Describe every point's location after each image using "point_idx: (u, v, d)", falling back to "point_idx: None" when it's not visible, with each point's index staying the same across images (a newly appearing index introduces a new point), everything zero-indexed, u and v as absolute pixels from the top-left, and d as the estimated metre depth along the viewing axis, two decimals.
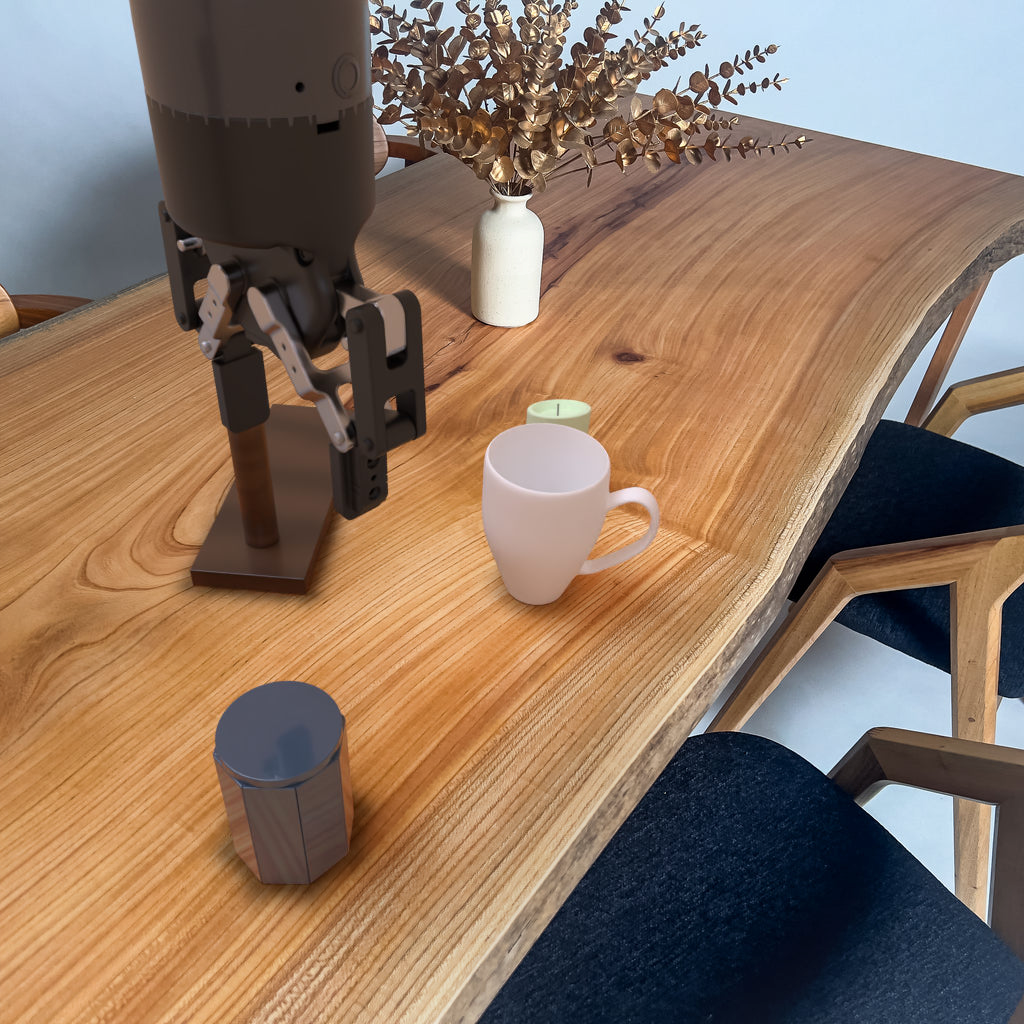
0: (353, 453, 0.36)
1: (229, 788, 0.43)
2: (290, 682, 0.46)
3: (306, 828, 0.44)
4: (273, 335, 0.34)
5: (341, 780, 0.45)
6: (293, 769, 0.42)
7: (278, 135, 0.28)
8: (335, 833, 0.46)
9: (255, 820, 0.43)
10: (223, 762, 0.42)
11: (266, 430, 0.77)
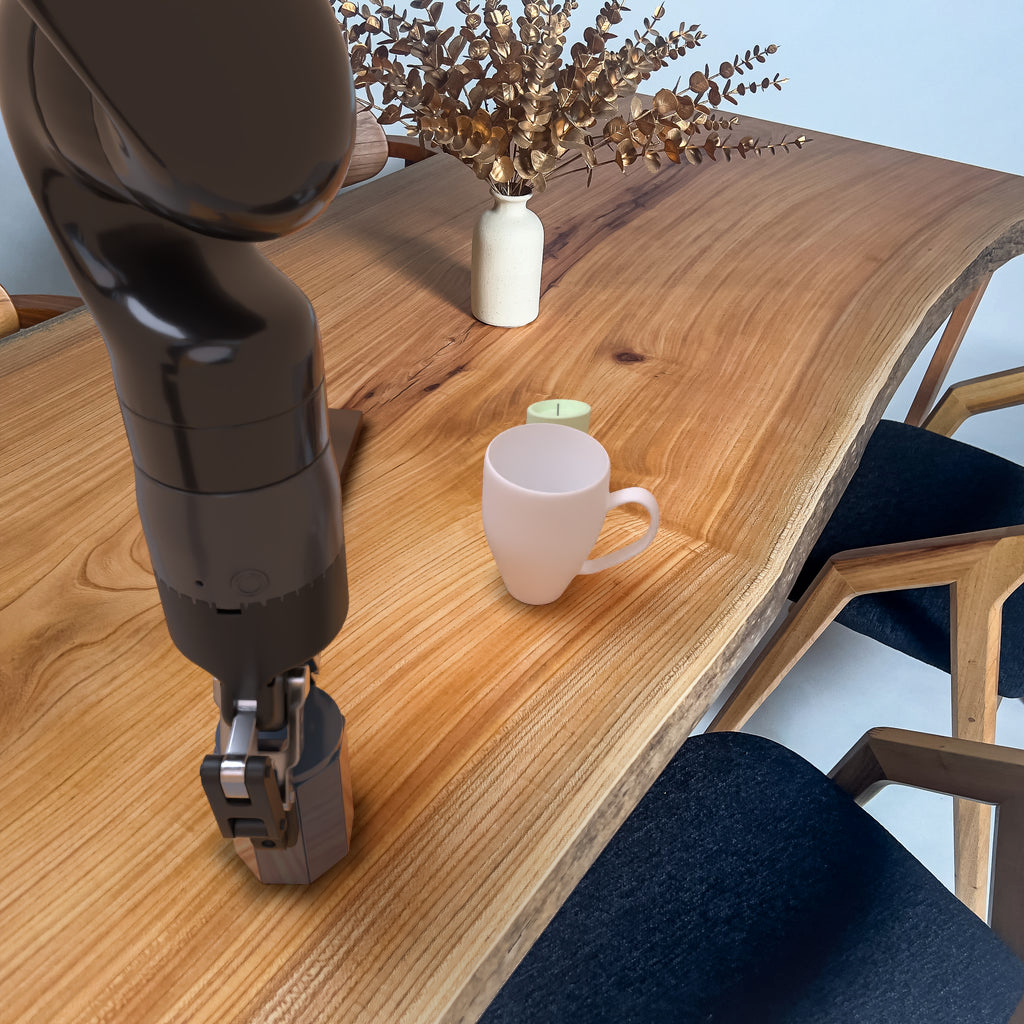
0: None
1: None
2: None
3: (306, 828, 0.44)
4: None
5: (341, 780, 0.45)
6: (293, 770, 0.42)
7: (186, 604, 0.34)
8: (335, 833, 0.46)
9: None
10: None
11: None
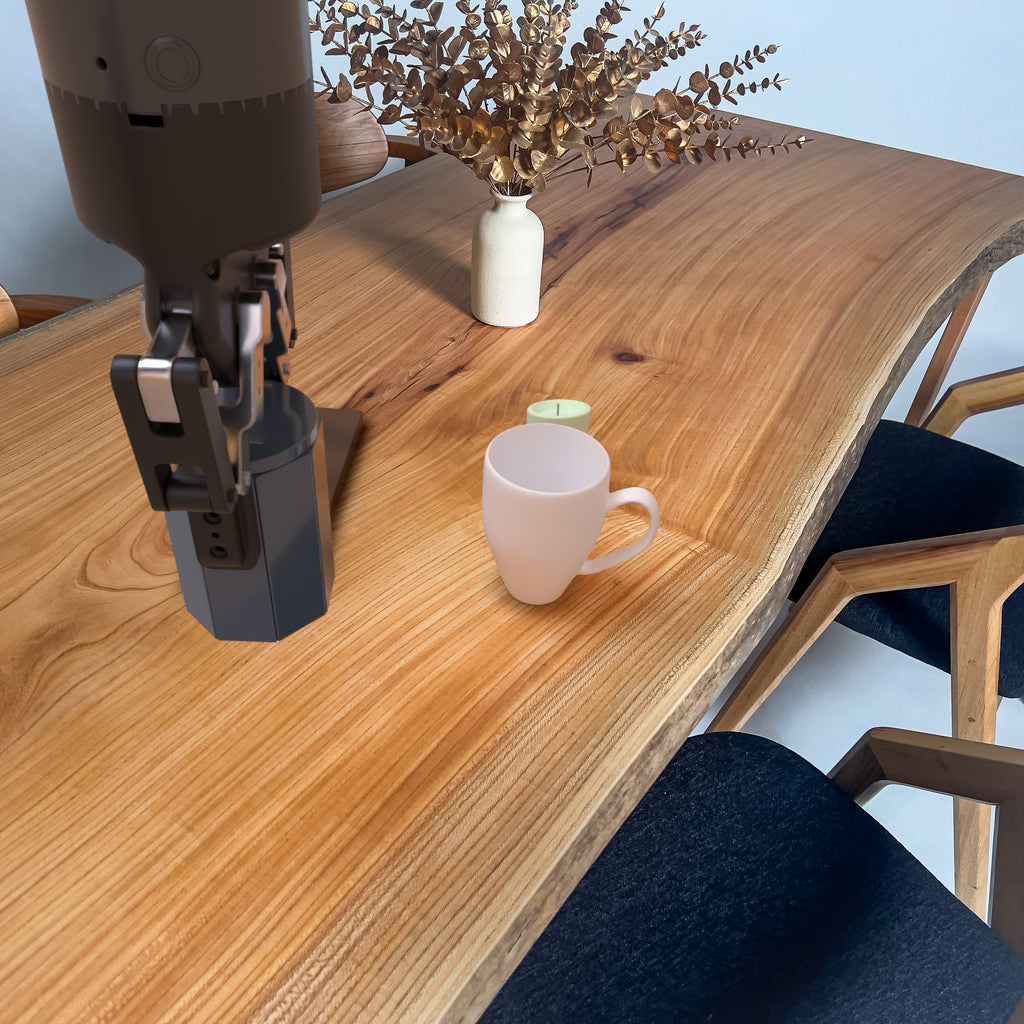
0: None
1: None
2: None
3: (270, 551, 0.34)
4: None
5: (316, 493, 0.35)
6: (251, 455, 0.32)
7: (87, 115, 0.24)
8: (309, 574, 0.37)
9: None
10: None
11: None
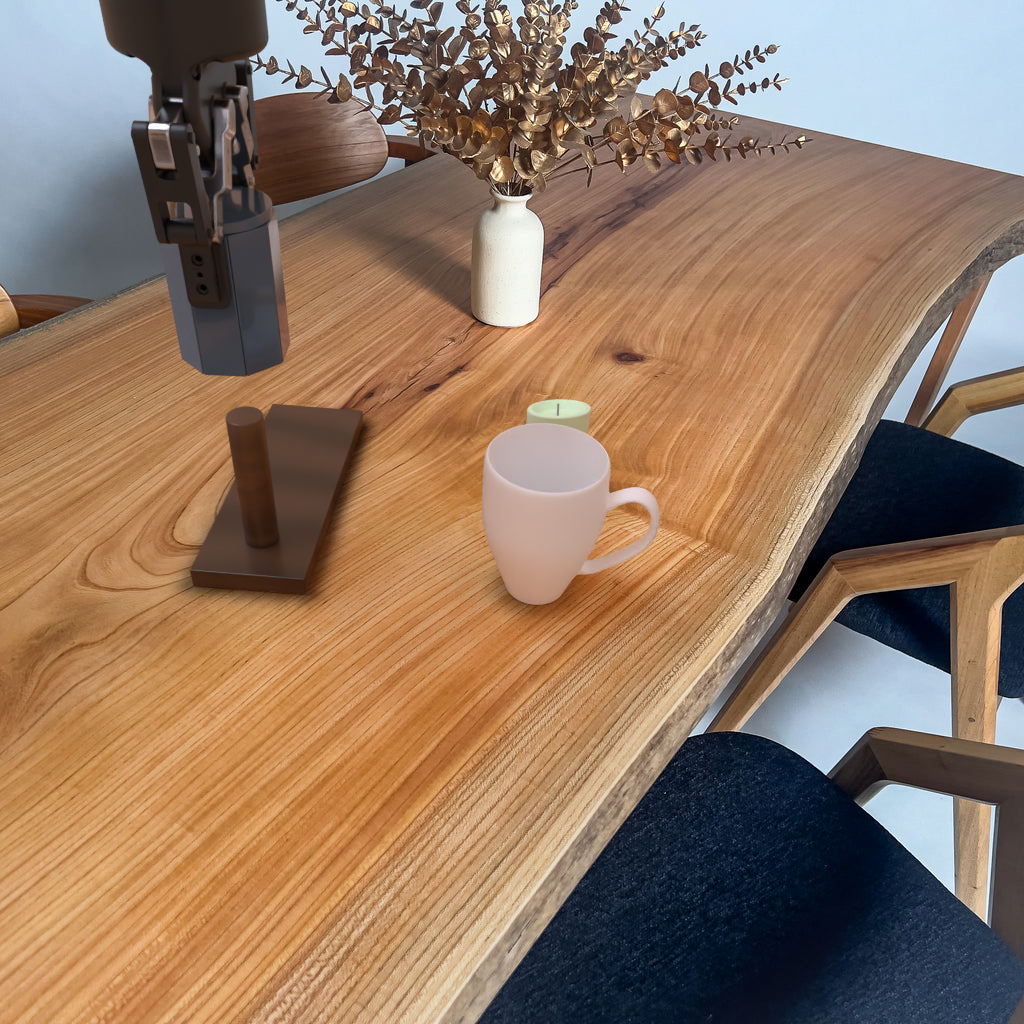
0: None
1: (170, 252, 0.49)
2: None
3: (239, 298, 0.50)
4: None
5: (271, 259, 0.50)
6: (224, 220, 0.47)
7: None
8: (268, 324, 0.52)
9: None
10: None
11: (266, 430, 0.77)
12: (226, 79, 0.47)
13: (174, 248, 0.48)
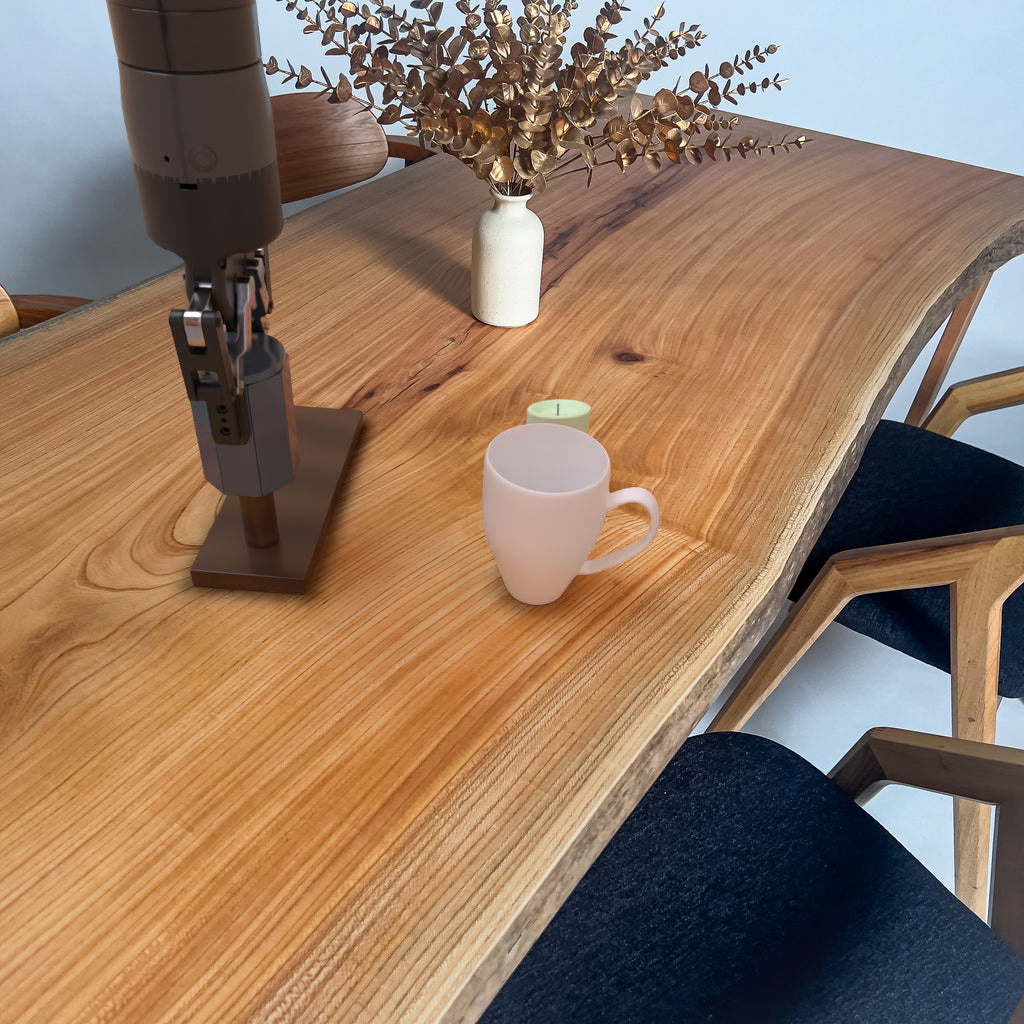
0: None
1: None
2: None
3: (257, 434, 0.57)
4: None
5: (284, 399, 0.57)
6: (245, 372, 0.55)
7: (157, 183, 0.47)
8: (281, 452, 0.59)
9: None
10: None
11: None
12: (246, 252, 0.54)
13: None
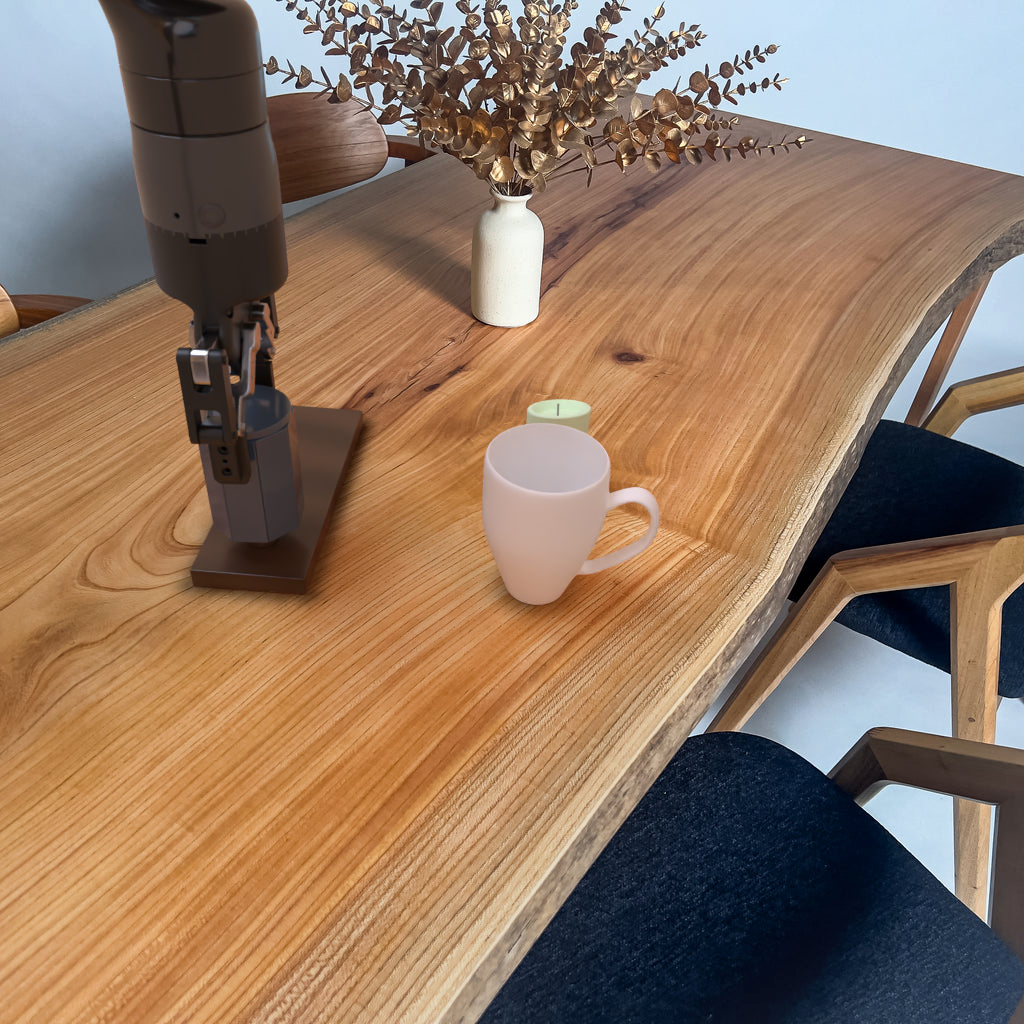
0: None
1: (206, 449, 0.58)
2: None
3: (264, 485, 0.59)
4: None
5: (290, 451, 0.60)
6: (253, 428, 0.57)
7: (168, 238, 0.48)
8: (287, 500, 0.62)
9: None
10: None
11: None
12: None
13: None
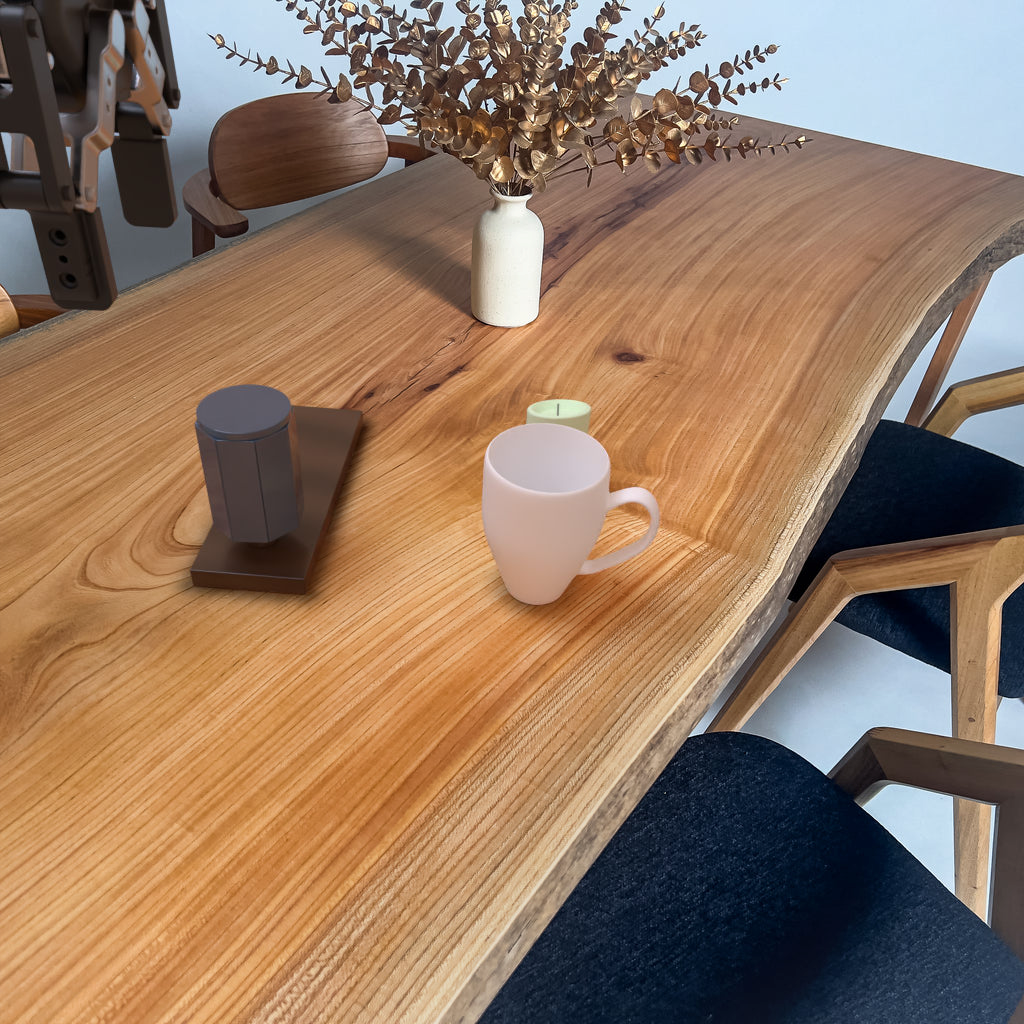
0: None
1: (206, 449, 0.58)
2: (253, 385, 0.61)
3: (264, 485, 0.59)
4: None
5: (290, 451, 0.60)
6: (253, 428, 0.57)
7: None
8: (287, 500, 0.62)
9: (225, 474, 0.59)
10: (201, 424, 0.57)
11: None
12: None
13: (210, 448, 0.58)
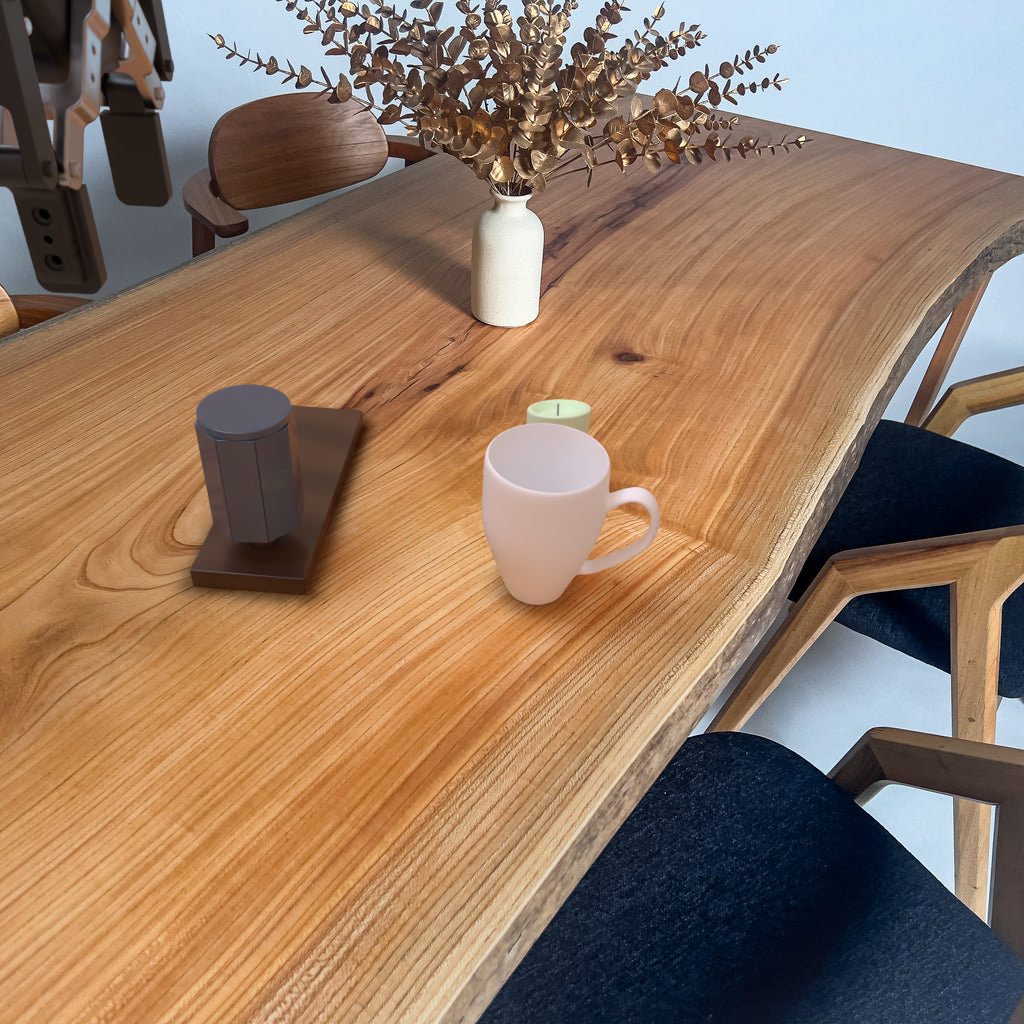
0: None
1: (206, 449, 0.58)
2: (253, 385, 0.61)
3: (264, 485, 0.59)
4: None
5: (290, 451, 0.60)
6: (253, 428, 0.57)
7: None
8: (287, 500, 0.62)
9: (225, 474, 0.59)
10: (201, 424, 0.57)
11: None
12: None
13: (210, 448, 0.58)
